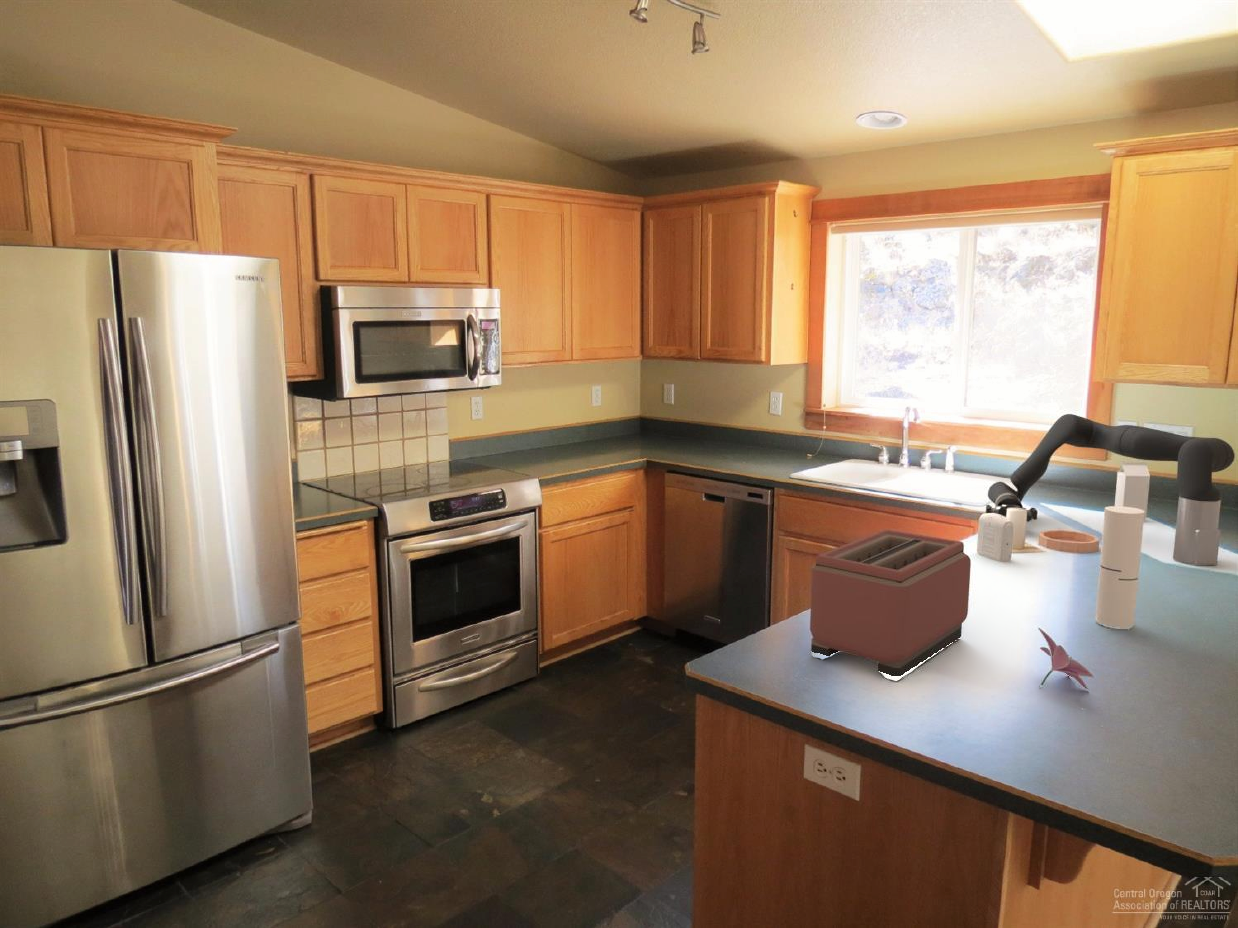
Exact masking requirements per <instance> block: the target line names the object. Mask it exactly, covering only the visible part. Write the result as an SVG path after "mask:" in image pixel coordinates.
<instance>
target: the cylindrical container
mask: <svg viewBox="0 0 1238 928" xmlns="http://www.w3.org/2000/svg"><path fill="white" fill-rule="evenodd" d="M1144 522H1145V521H1144V511H1143V510H1141V509H1137V508H1132V507H1123V506H1115V505H1113V506H1112V505H1111V506H1105V507H1104V512H1103V525H1102V537H1101V551H1100V559H1099V562H1100V563H1099V574H1098V585H1097V596H1096V605H1095V606H1096V607H1095V608H1096V609H1095V618H1094V619H1096V621H1097V622H1098V623H1101V624H1105V625H1107V626H1112V627H1120V628H1127V627H1132V626H1133V625H1134V626H1135V616H1136V604H1137V596H1138V595H1137V594H1138V584H1139V583H1138V582H1139V574H1140V563H1141V552H1142V541H1143V531H1144Z"/></svg>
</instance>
